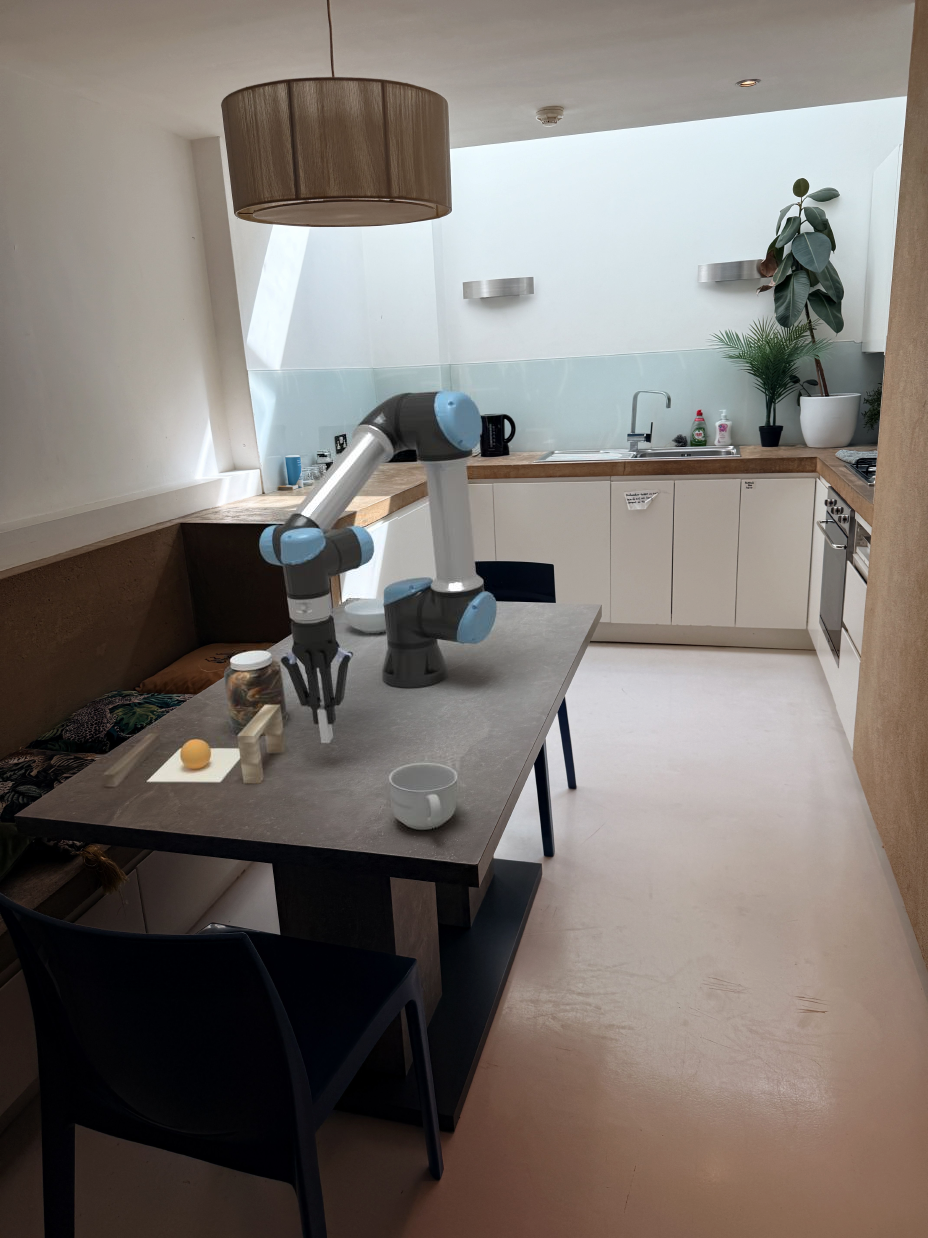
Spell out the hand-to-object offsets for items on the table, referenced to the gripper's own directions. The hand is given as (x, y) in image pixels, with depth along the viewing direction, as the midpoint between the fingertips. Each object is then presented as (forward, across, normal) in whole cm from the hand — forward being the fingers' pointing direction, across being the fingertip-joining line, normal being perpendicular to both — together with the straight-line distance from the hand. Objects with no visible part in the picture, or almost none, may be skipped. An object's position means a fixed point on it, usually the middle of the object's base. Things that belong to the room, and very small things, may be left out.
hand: (327, 739), depth 160 cm
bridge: (+5, -12, -1) cm, 13 cm away
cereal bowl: (+7, -10, +85) cm, 86 cm away
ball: (+2, -25, -2) cm, 25 cm away
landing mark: (+5, -25, -1) cm, 26 cm away
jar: (+5, -20, +18) cm, 28 cm away
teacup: (+5, +22, -22) cm, 31 cm away
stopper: (+5, -38, -1) cm, 39 cm away
